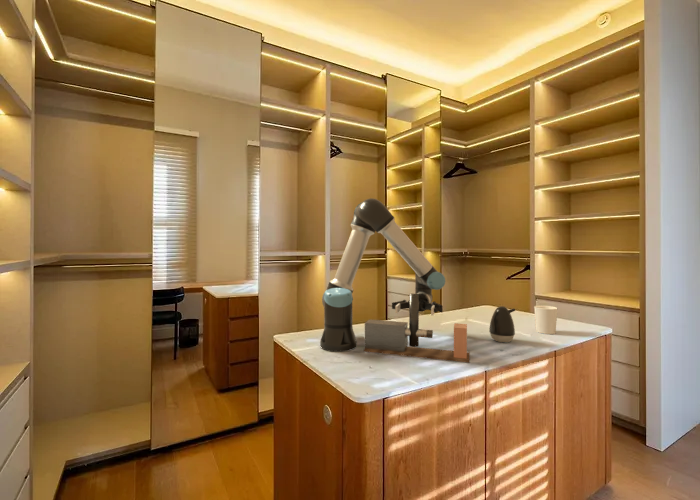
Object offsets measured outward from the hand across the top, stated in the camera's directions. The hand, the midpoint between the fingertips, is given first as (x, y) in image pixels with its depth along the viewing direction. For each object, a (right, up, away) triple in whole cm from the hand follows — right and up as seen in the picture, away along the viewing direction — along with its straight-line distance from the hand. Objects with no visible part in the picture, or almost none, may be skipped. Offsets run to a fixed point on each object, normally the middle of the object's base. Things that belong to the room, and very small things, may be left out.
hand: (413, 310), depth 133 cm
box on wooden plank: (-10, -16, +6) cm, 20 cm away
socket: (+17, -16, -3) cm, 23 cm away
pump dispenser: (+42, -17, +19) cm, 49 cm away
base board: (+1, -17, +2) cm, 17 cm away
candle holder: (+69, -16, +34) cm, 79 cm away
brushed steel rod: (-4, -14, +4) cm, 15 cm away
